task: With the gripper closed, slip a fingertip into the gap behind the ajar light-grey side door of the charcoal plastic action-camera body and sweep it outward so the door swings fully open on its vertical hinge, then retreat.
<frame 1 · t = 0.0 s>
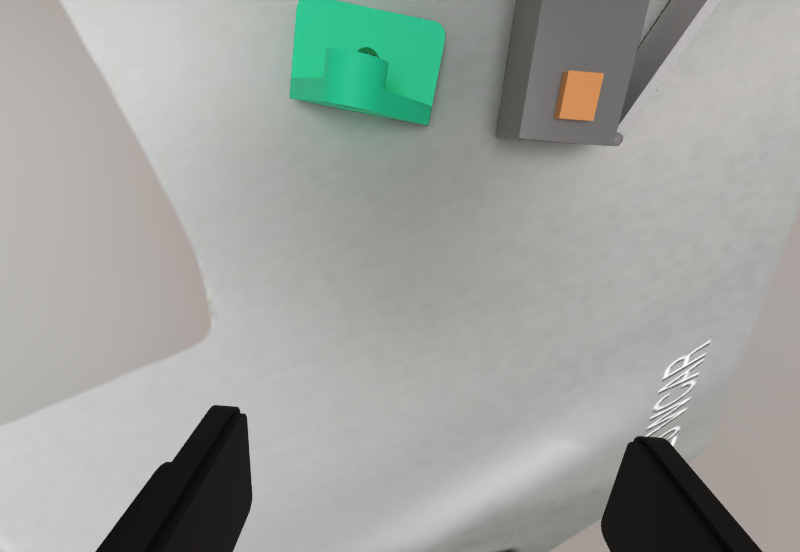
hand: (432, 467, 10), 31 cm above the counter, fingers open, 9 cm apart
camera body: (550, 41, 34), on the counter
door: (654, 61, 31), point 3 cm above the counter, hinge at 25.0°
camera mount: (369, 67, 35), on the counter
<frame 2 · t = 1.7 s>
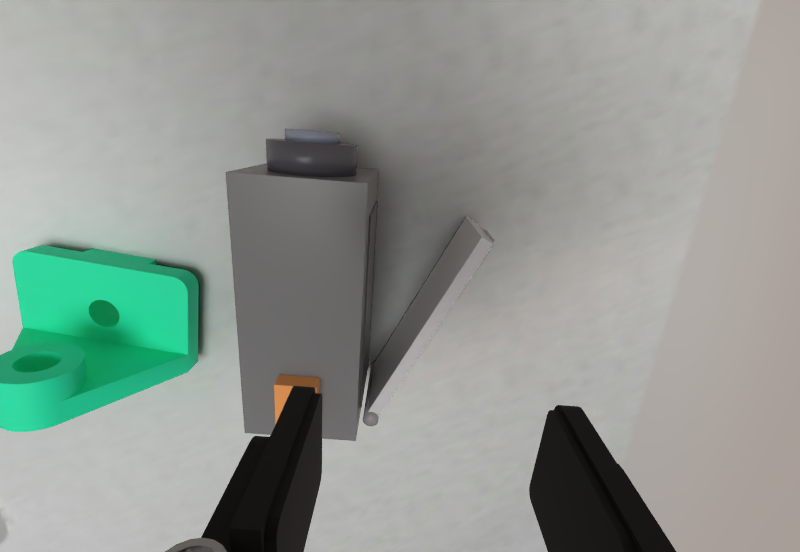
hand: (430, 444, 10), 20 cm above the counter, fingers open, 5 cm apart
camera body: (326, 275, 30), on the counter
door: (422, 320, 27), point 3 cm above the counter, hinge at 25.0°
camera mount: (129, 298, 31), on the counter
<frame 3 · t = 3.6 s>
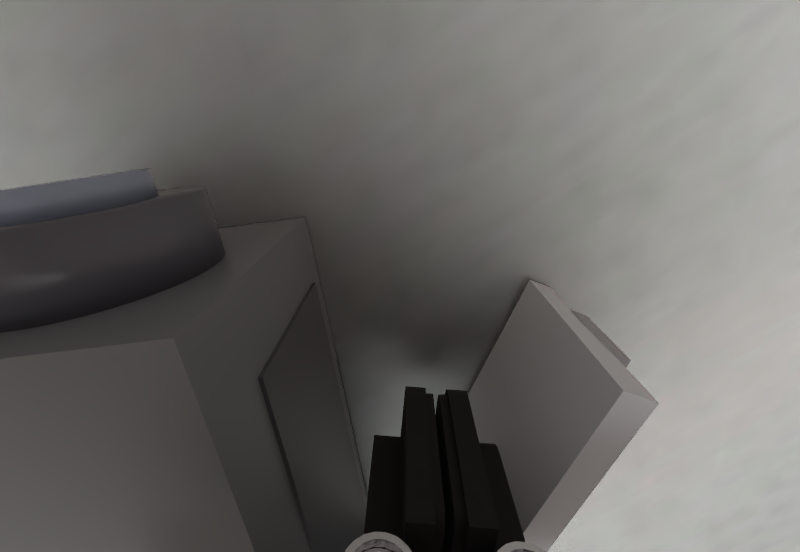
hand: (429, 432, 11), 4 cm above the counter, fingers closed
camera body: (263, 421, 16), on the counter
door: (470, 510, 13), point 3 cm above the counter, hinge at 28.6°
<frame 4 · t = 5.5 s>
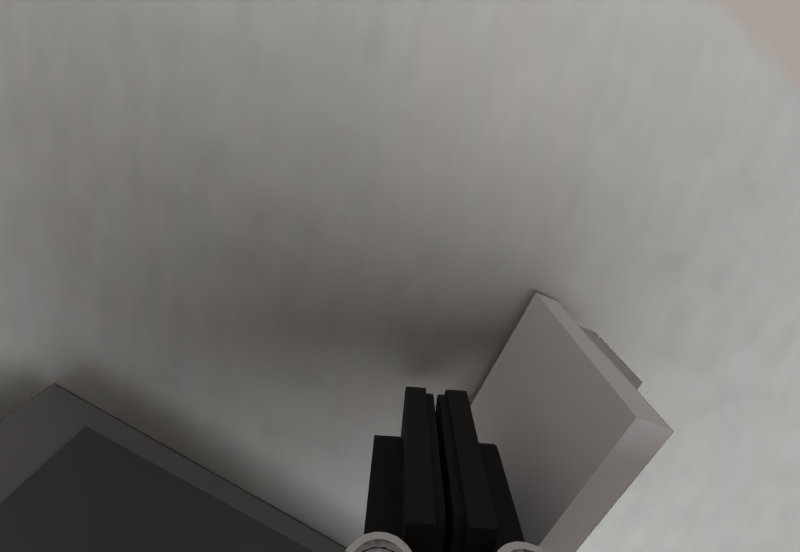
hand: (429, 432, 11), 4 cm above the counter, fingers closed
camera body: (195, 532, 17), on the counter
door: (468, 531, 12), point 3 cm above the counter, hinge at 73.7°, touching gripper
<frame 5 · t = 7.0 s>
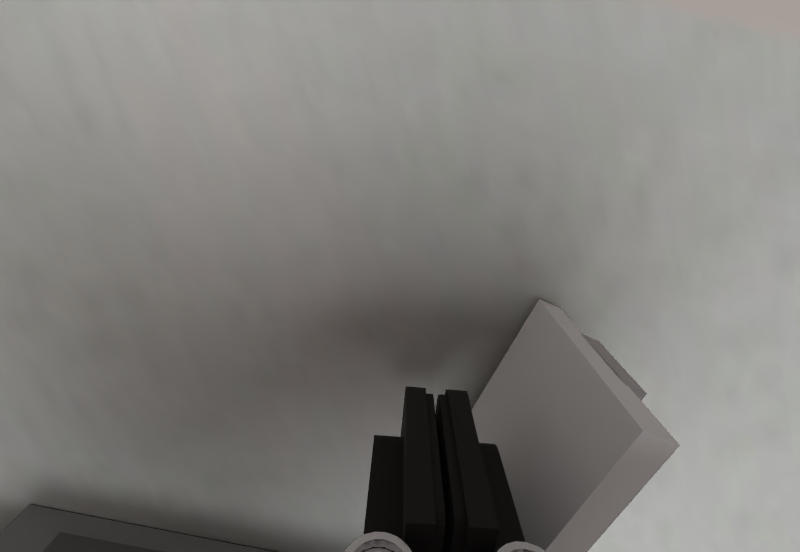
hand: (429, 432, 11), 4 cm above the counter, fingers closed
door: (467, 538, 12), point 3 cm above the counter, hinge at 99.2°, touching gripper
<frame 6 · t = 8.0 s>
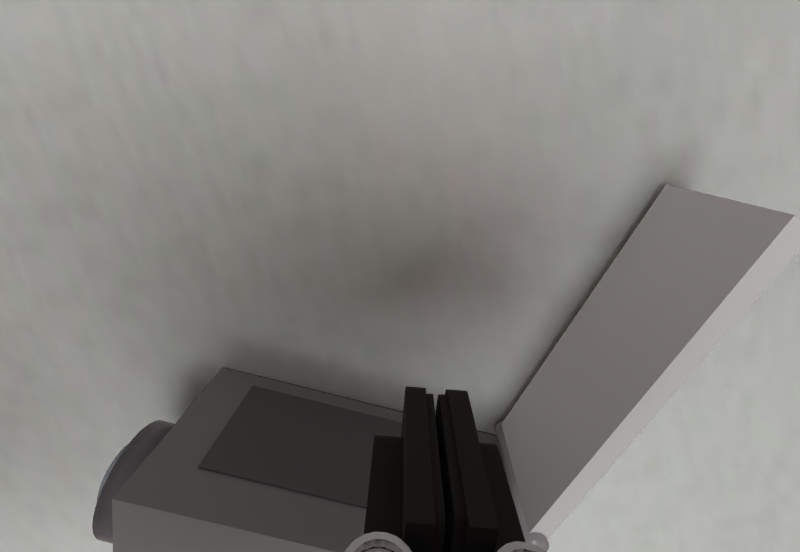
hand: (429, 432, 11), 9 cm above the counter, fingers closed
camera body: (353, 451, 23), on the counter
door: (606, 367, 16), point 3 cm above the counter, hinge at 99.4°
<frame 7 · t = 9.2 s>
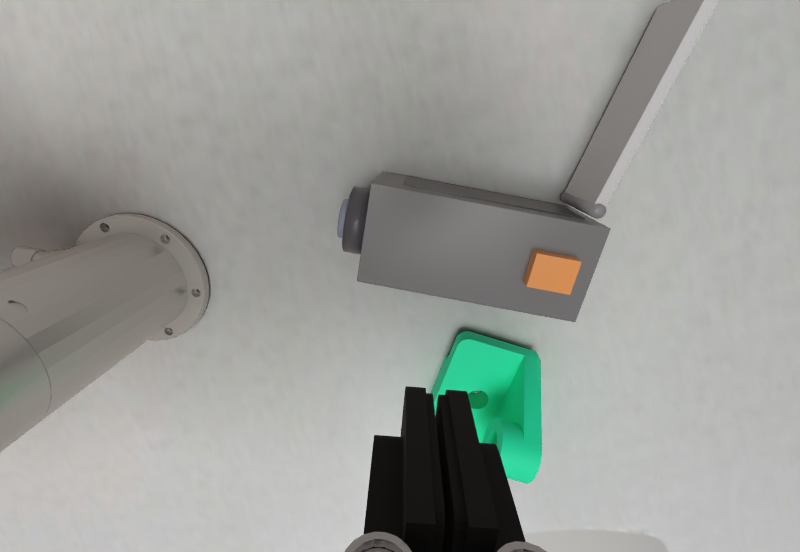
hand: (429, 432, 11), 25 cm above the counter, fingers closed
camera body: (466, 228, 35), on the counter
door: (631, 113, 28), point 3 cm above the counter, hinge at 99.4°
camera mount: (473, 382, 40), on the counter
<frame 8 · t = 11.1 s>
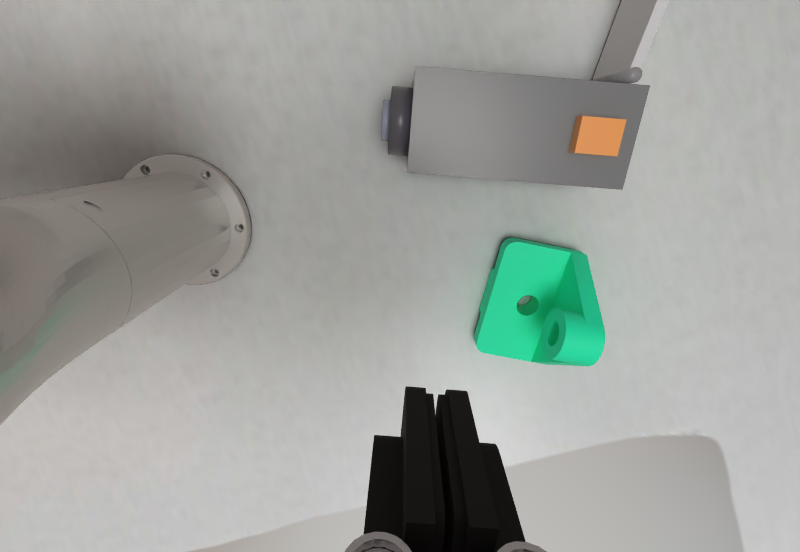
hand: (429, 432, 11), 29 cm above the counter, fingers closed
camera body: (498, 131, 35), on the counter
camera mount: (519, 294, 41), on the counter
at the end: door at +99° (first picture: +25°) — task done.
